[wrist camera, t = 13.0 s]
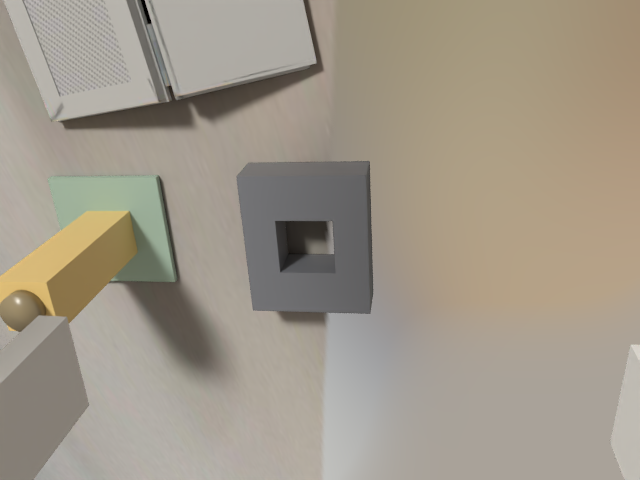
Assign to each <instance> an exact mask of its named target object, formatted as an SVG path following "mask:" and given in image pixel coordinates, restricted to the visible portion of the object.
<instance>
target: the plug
mask: <svg viewBox="0 0 640 480" xmlns="http://www.w3.org/2000/svg"><path fill="white" fill-rule="evenodd" d="M137 253H138V250H137V245H136V240H135V235H134V231H133V226H132V221H131V216H130V211H86V212H85V213H84V214H82V215H81V216H80V217H78V218H77V219H76V220H74V221H73V222H72V223H70V224H69V225H68V226H66V227H65V228H64V229H62V230H61V231H60V232H58V233H57V234H56V235H54V236H53V237H52V238H50V239H49V240H48V241H46V242H45V243H44V244H42V245H41V246H40V247H38V248H37V249H36V250H34V251H33V252H32V253H30V254H29V255H28V256H26V257H25V258H24V259H22V260H21V261H20V262H18V263H17V264H16V265H14V266H13V267H12V268H10V269H9V270H8V271H6V272H5V273H4V274H2V275H1V276H0V316H1V318H2V319H3V321H4V322H5V323H6V324H7V326H8V329H9V331H19V332H21V331H22V330H23V329H25V328H26V327H27V326H28V325H29V324H30V323H31V322H32V321H33V320H34V319H35V318H36V317H38V316H39V315H42V316H62V317H67V319H68V323H70V322H71V321H72V320H73V319H74V318H75V317H76V316H77V315H78V314H79V313H80V312H81V311H82V310H83V308H84V307H85V306H86V305H87V304H88V303H89V302H90V301H91V300H92V299H93V298H94V297H95V296H96V295H97V294H98V293H99V292H100V291H101V290H102V289H103V288H104V287H105V286H106V285H107V284H108V283H109V282H110V281H111V280H112V279H113V278H114V276H115V275H116V274H117V273H118V272H119V271H120V270H121V269H122V268H123V267H124V266H125V265H126V264H127V263H128V262H129V261H130V260H131V259H132V258H133V257H134V256H135V255H136V254H137Z"/></svg>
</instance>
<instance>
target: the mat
mask: <svg viewBox="0 0 640 480" xmlns="http://www.w3.org/2000/svg"><path fill="white" fill-rule="evenodd" d="M48 182H49V186H50V190H51V194H52V198H53V202H54V205H55V209H56V213H57V217H58V221H59V225H60V228H61V230H62V229H64V228H65V227H66V226H68V225H69V224H70V223H72V222H73V221H74V220H76V219H77V218H78V217H80V216H81V215H82V214H84V213H85V212H86V211H130V216H131V221H132V226H133V231H134V235H135V240H136V245H137V250H138V253H137V254H136V255H135V256H134V257H133V258H132V259H131V260H130V261H129V262H128V263H127V264H126V265H125V266H124V267H123V268H122V269H121V270H120V271H119V272H118V273H117V274H116V275H115V276H114V278H113V279H112V280H111V281H148V282H175V281H176V280H177V275H176V269H175V264H174V258H173V252H172V247H171V241H170V236H169V230H168V225H167V219H166V214H165V208H164V202H163V197H162V191H161V186H160V180H159V175H150V176H54V177H50V178H48Z"/></svg>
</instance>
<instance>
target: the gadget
mask: <svg viewBox="0 0 640 480" xmlns="http://www.w3.org/2000/svg"><path fill="white" fill-rule="evenodd" d="M3 1H4V4H5V6H6V9H7V11H8V14H9V16H10V19H11V21H12V24H13V26H14V29H15V31H16V34H17V36H18V39H19V41H20V44H21V46H22V49H23V51H24V54H25V56H26V59H27V61H28V64H29V66H30V69H31V71H32V74H33V76H34V79H35V81H36V84H37V86H38V89H39V91H40V94H41V96H42V99H43V101H44V104H45V106H46V109H47V111H48V114H49V116H50V119H51V121H52V122H53V121H58V122H60V121H65V120H71V119H76V118H82V117H87V116H93V115H98V114H104V113H109V112H115V111H120V110H126V109H131V108H137V107H142V106H148V105H153V104H159V103H164V102H169V101H172V98H171V95H170V92H169V88H168V86H172V89H173V92H174V95H175V99H176V100H179V99H183V98H187V97H191V96H196V95H200V94H204V93H208V92H212V91H217V90H221V89H225V88H229V87H233V86H238V85H242V84H246V83H250V82H254V81H259V80H263V79H267V78H271V77H275V76H280V75H284V74H288V73H292V72H296V71H301V70H305V69H309V68H310V67H309V65H312V64H316V63H317V61H316V57H315V52H314V48H313V43H312V38H311V34H310V29H309V25H308V20H307V15H306V11H305V6H304V2H303V0H145V3H146V6H147V9H148V13H149V16H150V19H151V22H152V24H148V22H147V19H146V16H145V13H144V9H143V6H142V3H141V0H3Z"/></svg>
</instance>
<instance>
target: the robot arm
mask: <svg viewBox="0 0 640 480" xmlns="http://www.w3.org/2000/svg"><path fill="white" fill-rule="evenodd" d="M88 406H89V402H88V398H87V394H86V390H85V386H84V382H83V378H82V374H81V371H80V367H79V363H78V359H77V355H76V351H75V347H74V343H73V339H72V335H71V331H70V327H69V323H68V319H67V317H62V316H42V315H39V316H38V317H36V318H35V319H34V320H33V321H32V322H31V323H30V324H29V325H28V326H27V327H26V328H25V329H23V330H22V331H21V332H20V333H19V334H18V335H17V336H16V337H15V338H14V339H13V340H12V341H10V342H9V343H8V344H7V345H6V346H5V347H4V348H3V349H2V350H1V351H0V480H33V479H34V478H35V477H36V475H37V474H38V473H39V471H40V470H41V469H42V467H43V466H44V465H45V463H46V462H47V461H48V459H49V458H50V457H51V455H52V454H53V453H54V451H55V450H56V449H57V447H58V446H59V445H60V443H61V442H62V441H63V439H64V438H65V437H66V435H67V434H68V433H69V431H70V430H71V429H72V427H73V426H74V425H75V423H76V422H77V421H78V419H79V418H80V416H81V415H82V414H83V412H84V411H85V410H86V408H87V407H88ZM610 444H611V447H612V450H613V452H614V455H615V457H616V460H617V462H618V465H619V467H620V470H621V472H622V475H623V478H624V480H640V345H630V349H629V354H628V359H627V363H626V368H625V373H624V378H623V383H622V388H621V392H620V397H619V402H618V407H617V412H616V417H615V422H614V426H613V431H612V436H611V441H610Z"/></svg>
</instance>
